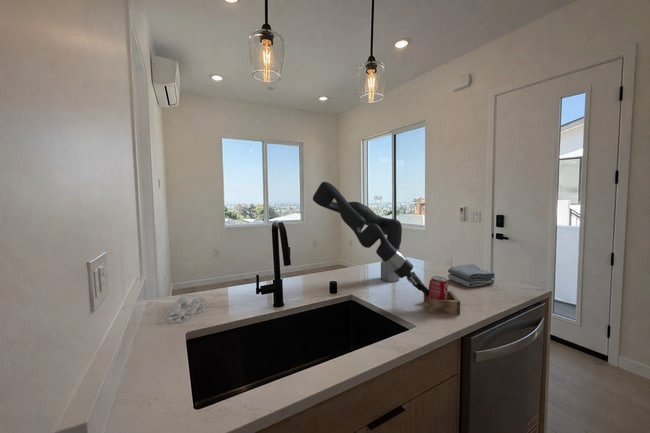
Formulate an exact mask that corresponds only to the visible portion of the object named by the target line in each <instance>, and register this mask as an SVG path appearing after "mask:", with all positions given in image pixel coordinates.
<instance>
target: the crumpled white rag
mask: <svg viewBox="0 0 650 433" xmlns="http://www.w3.org/2000/svg"><path fill="white" fill-rule="evenodd" d="M188 302H189V298H188V297H187V296H185V295H182V296H180V297H179V298H178V299H177V301H175V302H173V303H172V305H171V307H170V310H168V311H167V312H166V313H165V316H164V318H163V319H164V320H166V321H167V322H169V323H176V324H180V323H185V322H187V321H189V320H190V319H191V318H192V317H194V316H195V314H197V313H202V312H204V311H205V309H206V307H207V306H209V305H210V304H209V303H210V302H209V301H208V300H205V297H201V296H196V297H194V298H193V299H192V300H191V302H190V303H189V304H188ZM201 303H206V305H205V304H201ZM187 304H188V305H187ZM185 305H187V306H186V307H185V308H183V309H182V306H185ZM201 308H202V310H200V309H201ZM189 315H190V316H189ZM183 317H184V320H181V318H183ZM174 319H175V320H174Z"/></svg>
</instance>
